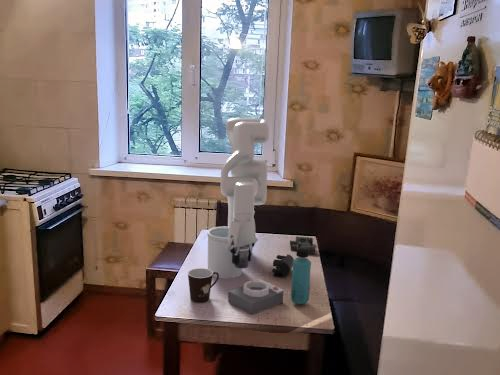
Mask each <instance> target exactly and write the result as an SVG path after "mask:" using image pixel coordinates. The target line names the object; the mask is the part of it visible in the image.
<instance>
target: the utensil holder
mask: <svg viewBox="0 0 500 375" xmlns="http://www.w3.org/2000/svg"><path fill="white" fill-rule="evenodd" d="M206 232H207V269H209V270H211V271H212V272H217V273H218V274H219V278H218V279H234V278H238V277H240V276H241V275H242V272H243V268H236V267H235V266H234V264H233V263H232V253H231V252H230V251H229V250H228V249H226V246H227V244H228V233H229V227H228V226H225V225H223V226H214V227H211V228H208V229H207V231H206ZM231 247H232V246H231ZM212 277H214V278H217V274H213V276H212Z"/></svg>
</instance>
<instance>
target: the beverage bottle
mask: <svg viewBox="0 0 500 375" xmlns="http://www.w3.org/2000/svg"><path fill="white" fill-rule="evenodd" d="M295 255H296V256H297V257H296V258H294V261H293V267H292V273H291V290H290V300H291V301H292V302H293V303H295V304H299V305H304V304H307V303H308V302H309V301H310V285H311V268H312V267H311V266H312V261H311V260H309V259H308V258H309V255H310V254H308V250H307V249H303V248H300V249H297V250H296V254H295Z"/></svg>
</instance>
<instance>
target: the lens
mask: <svg viewBox="0 0 500 375" xmlns="http://www.w3.org/2000/svg"><path fill="white" fill-rule="evenodd" d="M235 251H236V248H235ZM238 255H239V265H235V264H234V266H235V267H236V268H242V269H247V268H248V267H249V261H248V258H249V245H246V246H243V247H240V249H239V252H238Z"/></svg>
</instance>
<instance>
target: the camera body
mask: <svg viewBox="0 0 500 375" xmlns="http://www.w3.org/2000/svg"><path fill="white" fill-rule="evenodd" d="M284 291H285V290H284V289H283V288H280V287H278V286H276V285H274V284H271V283H269V282H267V281H265V280H263V279H260V278H259V279H256V280H249V281H246V282H244V283H243V286H240V287H236V288H233V289H231V290H228V293H227V296H228V298H227V302H228V303H229V304H231V305H234V306H235V307H237V308H238V309H240V310H242V311H244V312H245V313H248V314H250V315H255V314H257V313H259V312H262V311H264V310H268V309H269V308H272V307H275V306H277V305H279V304H282V303H283V302H284Z"/></svg>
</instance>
